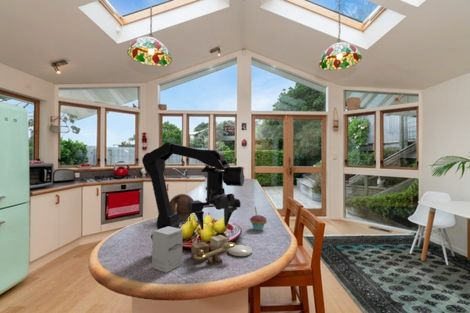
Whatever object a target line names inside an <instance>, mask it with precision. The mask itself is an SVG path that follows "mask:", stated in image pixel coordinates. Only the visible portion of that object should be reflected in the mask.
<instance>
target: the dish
mask: <svg viewBox="0 0 470 313" xmlns="http://www.w3.org/2000/svg"><path fill="white" fill-rule="evenodd" d="M227 252H228V254H230V255H231V256H234V257H246V256H250V255H252V254H253V248H252V247H250V246H247V245H242V244H235V247H233V248H230V249H228V250H227Z"/></svg>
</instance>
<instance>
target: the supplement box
mask: <svg viewBox="0 0 470 313" xmlns="http://www.w3.org/2000/svg"><path fill="white" fill-rule="evenodd" d="M183 232H184V230H183V228H180V227H179V228H174V227H169V226H168V227H165V228H161V229H158V230H157V229H155V230H152V234H153V237H152V239H151V241H152V244H151V247H152V248H151V250H152V251H151V268H152V269H155V270H156V271H157V270H158V271H160V272H163V273H168V272H170V271H172V270H175V269H177V268H178V267H181V266H182V265H183V236H184V235H183Z"/></svg>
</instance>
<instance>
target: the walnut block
mask: <svg viewBox="0 0 470 313" xmlns="http://www.w3.org/2000/svg"><path fill="white" fill-rule="evenodd" d="M199 249H202V250H204V253H205V254H206V253H209V252H210V251H209V250H210V245H209V244H207V242H206V241H199V242H191V249H190V251H191V252H190V253H191V256H190V257H191V258H192V259H193V261H195V262H201V261H206V260H207V261H208V259H209V257H210V256H209V257H206V258H204V259H201V260H200V259H195V258H194V254H196V253H197V250H199Z"/></svg>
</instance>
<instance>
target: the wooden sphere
mask: <svg viewBox="0 0 470 313" xmlns="http://www.w3.org/2000/svg"><path fill="white" fill-rule="evenodd" d="M169 201H170V206H171V210H172V211H173V213H174V214H176V213H178V218H179V221H186V220H188V219H189V218H190V217H189V216H190V214H191V213H193V214H195V213H194V212H192V211H190V210H189V209H187V204H188V202H189V201H194V199H193V198H192V196H190V195H188V194H185V193H179V194H177V195H174V196H173V197H172V198H171V199H170V200H169ZM188 217H189V218H188Z"/></svg>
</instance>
